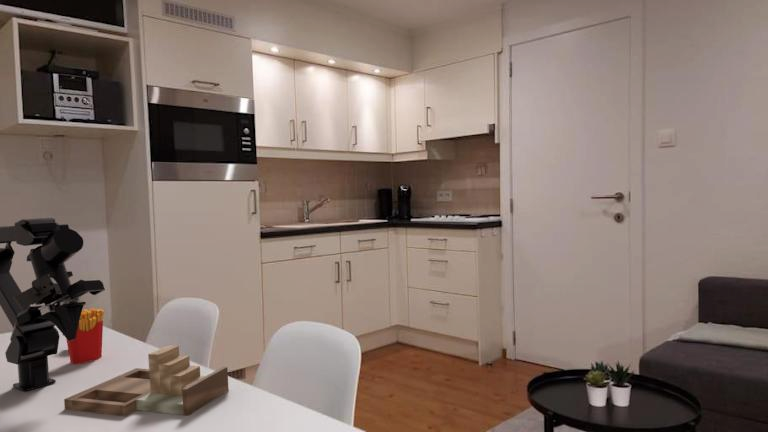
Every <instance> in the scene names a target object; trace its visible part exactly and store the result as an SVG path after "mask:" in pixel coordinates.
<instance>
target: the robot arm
mask: <svg viewBox="0 0 768 432" xmlns="http://www.w3.org/2000/svg"><path fill="white" fill-rule="evenodd" d="M12 242H15V243H16V244H17V245H19V246H22V247H24V246H25V247H26V246H27V247H28V246H37V245H38V246H37V247H35V248H31V249H30V251H29V253H28V254H27V256H26V262H31V266H32V268H33V272H34V276H35V279H34V280H32V281H31V287H30V288H28V289H26V290H24V291H22V290H21V289H20V286H19V285H18V283H17V281H16V280H15V279H14V277H13V275H12V274H11V271H10V270H11V268H12V264H13V258H14V255H15V251H14V248H13V247H12V245H11V244H12ZM0 244H5V247H0V307H1V309H2V311H3V313H4V314H5V315H6V318H7V320H8V321H9V323H10V324H11V326H12V328H13V329H12V332H11V335H10V338H9V339H10V340H9V341H10V343H8V344H9V345H8V347H7V349H6V350H5V353H4V355H5V357H6V362H7V363H9V364H10V363H11V364H15V365H17V371H18V372H17V374H18V382H15V383H13V384H12V387H13V388H16V389H18V390H21V391H23V392H26V391H30V390H33V389H37V388H41V387H44V386H47V385H51V384H55V383H56V379H54V378H51V377H50V374H49V373H50V372H49V360H48V359H49V358H48V356H53V355H57V354H58V350H59V343H60V333H59V331H60V332H61V334H62V336H63V335H64V336H63V337H65V338H67V339H66V341H67V340H68V341H72V340H74V339H75V338H76V334H77V329H78V324H79V320H80V316H81V312H82V310H84V309H83V308H84V306H86V305H87V304H86V303H87V302H86V301H83V299H82V296H83V295H85V294H88V293H89V294H90V295H93V296H97V295H98V294H101V293H102V292H104V291H105V290H106V289H105V286H104V282H103V281H102V280H100V279H99V278H82V279H79V280H77V281H76V282H74V283H71V280H70V278H71V277H73V276H74V274H73V271H68V270H67V268H66V265H65V263H67V262H68V261H69V260H70V259H71V258H73V257H74V256H75V255H76V254H77V253H79V252H80V251H81V250H82V249H83V247H84V238H83V237H82V236H81V235H80V234H79V232H77V231H76V230H74V229H71V228H70V227H69V224H68V223H67V224H66V223H64V224H59V223H58V222H56V219H55V218H53V217H42V218H40V217H39V218H25V219H24V218H23V219H20V220H18V221H16V222H14V225H8V226H7V225H6V226H4V225H3V226H0ZM43 304H44V305H43ZM31 305H35V306H31ZM57 329H58V330H59V331H58V330H57Z"/></svg>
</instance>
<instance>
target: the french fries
mask: <svg viewBox="0 0 768 432" xmlns="http://www.w3.org/2000/svg"><path fill="white" fill-rule="evenodd" d="M104 313H105V311H104V309H102V308H98V309H97V308H94V307H92V308H90V309H89V310H88V308H85V309H82V312H81V316H80V320H79V324H78V329H77V334H76V338H75V339H74V340H72V341H68V340H67V338H66V337H65V338H66V339H65V340H66V344H67V350H68V356H69V360H70V363H71V364H73V365H77V364H78V365H79V364H83V363H88V362H92V361H95V360H99V359H100V358H102V352H103V351H102V349H103V331H104V330H103V327H104V320H103V317H104Z"/></svg>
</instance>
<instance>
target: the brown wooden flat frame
mask: <svg viewBox="0 0 768 432" xmlns="http://www.w3.org/2000/svg"><path fill="white" fill-rule="evenodd" d="M228 372H229V371H228V366H222V367H220V368H218V369H216V370H214V371H213V372H211V373H209V374H208V375H205V377H203V378H201V379H200V380H198V381H196V382H194V383H192V384H190V385H188V386H187V387H185V388H183V389H182V394H183V396H175V395H165V394H154V393H151V392H150V375H149V368H133V369H131V370H129V371H126V372H125V373H121V374H119V375H117V376H115V377H112V378H110V379H108V380H106V381H103V382H101V383H98V384H96V385H94V386H92V387H89V388H86V389H84V390H82V391H80V392H78V393H75V394H74V395H70V396H69V397H68V396H67V397H66V398H64V400H63V401H64V402H63V403H64V410H70V411H79V412H88V413H96V414H103V415H104V414H105V415H110V416H111V415H112V416H113V415H114V416H120V417H126V416H127V415H130V414H131V413H133V412H135V411H144V412H153V413H163V414H172V415H181V416H189V415H191V414H193V413H194V412H196V411H198V410H199V409H201V408H202V407H204V406H206V405H207V404H209V403H211V402H212V401H214V400H215V399H217V398H218V397H221V396H222V395H224V394H225V393H227V392H228V391H229V390H230V389H229V375H228V374H229V373H228Z"/></svg>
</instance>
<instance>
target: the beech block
mask: <svg viewBox="0 0 768 432" xmlns="http://www.w3.org/2000/svg"><path fill="white" fill-rule="evenodd" d="M179 347H180V346H179V345H167V346H165V347H161V348H160V349H157V350H155V351H153V352H150V353H148V354H147V355H148V369H149V375H150V392H151V393H154V394H165V395H175V396H183V394H182V389H183V388H185V387H187V386H188V385H190V384H192V383H194V382H196V381H198V380H200V379H201V378H203V377H205V376H206V375H205V376H204V375H201V367H200V365H191V364H190V356H189V355H180V348H179Z"/></svg>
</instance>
